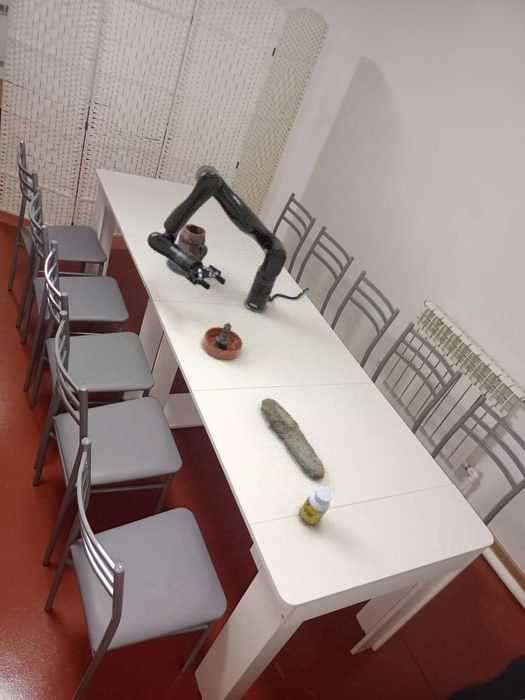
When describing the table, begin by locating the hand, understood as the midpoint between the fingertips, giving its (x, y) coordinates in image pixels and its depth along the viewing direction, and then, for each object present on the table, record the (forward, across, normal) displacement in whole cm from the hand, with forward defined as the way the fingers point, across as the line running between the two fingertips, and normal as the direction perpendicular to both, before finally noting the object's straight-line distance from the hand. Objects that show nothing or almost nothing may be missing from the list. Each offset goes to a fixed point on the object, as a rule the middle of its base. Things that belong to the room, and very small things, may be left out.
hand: (216, 285), depth 184 cm
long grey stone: (+58, -14, +23) cm, 64 cm away
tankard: (-37, +27, +23) cm, 51 cm away
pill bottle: (+80, -33, +23) cm, 90 cm away
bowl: (+11, 0, +23) cm, 25 cm away
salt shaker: (+11, 0, +23) cm, 25 cm away
